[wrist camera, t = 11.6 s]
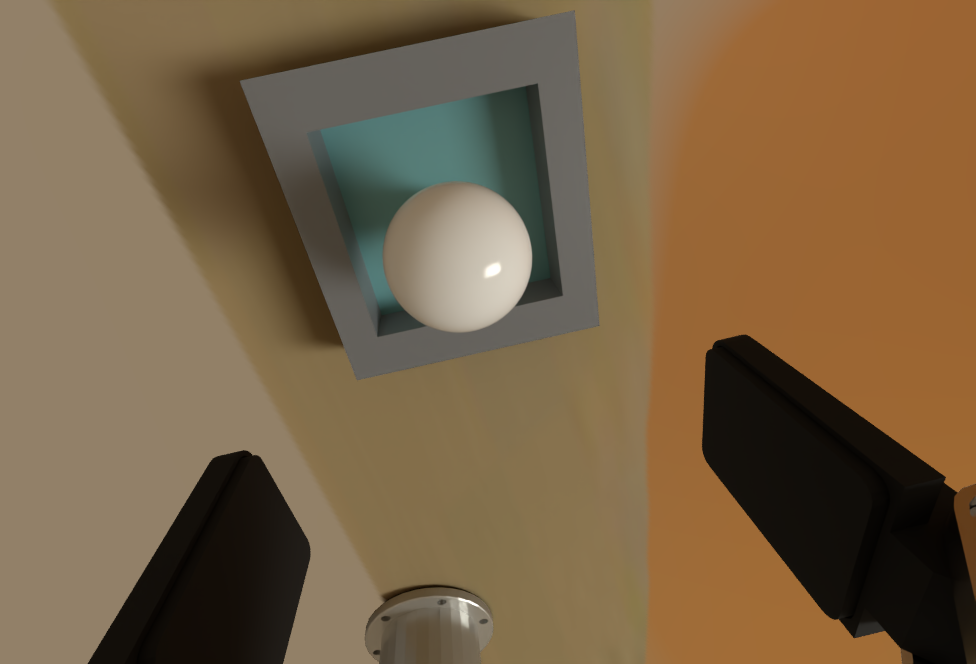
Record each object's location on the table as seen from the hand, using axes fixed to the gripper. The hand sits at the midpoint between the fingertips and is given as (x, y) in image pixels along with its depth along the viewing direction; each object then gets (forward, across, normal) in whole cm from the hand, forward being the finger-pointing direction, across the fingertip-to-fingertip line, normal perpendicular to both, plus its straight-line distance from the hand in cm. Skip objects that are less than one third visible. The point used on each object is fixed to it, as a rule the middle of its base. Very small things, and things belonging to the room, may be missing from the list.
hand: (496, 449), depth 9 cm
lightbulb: (+20, 0, -1) cm, 20 cm away
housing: (+20, 0, -1) cm, 20 cm away
